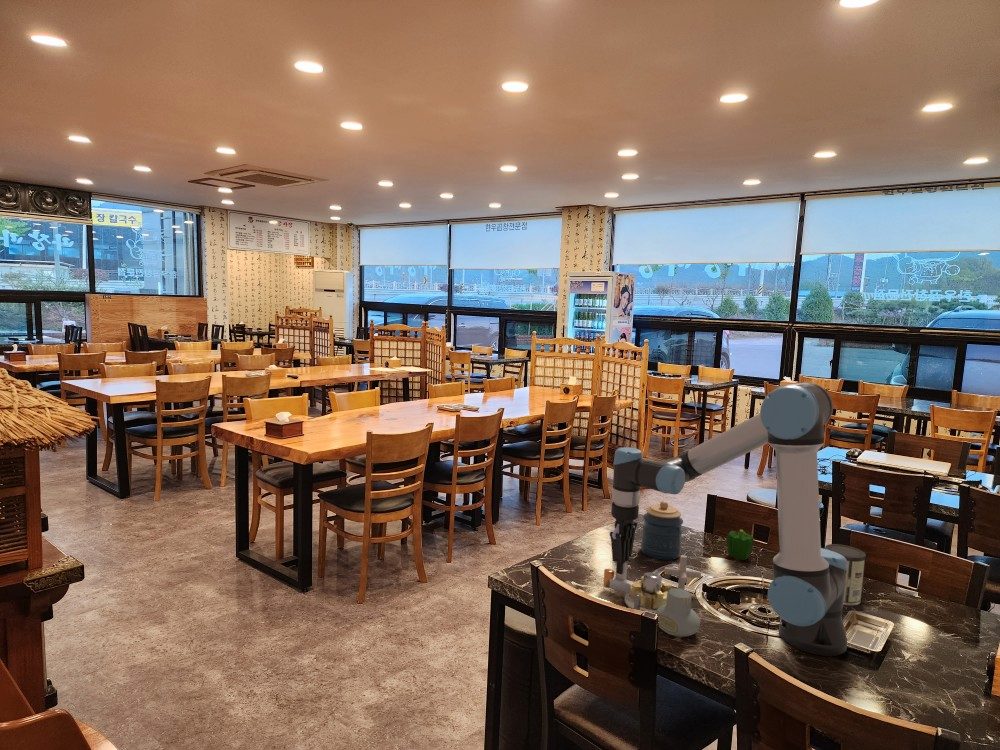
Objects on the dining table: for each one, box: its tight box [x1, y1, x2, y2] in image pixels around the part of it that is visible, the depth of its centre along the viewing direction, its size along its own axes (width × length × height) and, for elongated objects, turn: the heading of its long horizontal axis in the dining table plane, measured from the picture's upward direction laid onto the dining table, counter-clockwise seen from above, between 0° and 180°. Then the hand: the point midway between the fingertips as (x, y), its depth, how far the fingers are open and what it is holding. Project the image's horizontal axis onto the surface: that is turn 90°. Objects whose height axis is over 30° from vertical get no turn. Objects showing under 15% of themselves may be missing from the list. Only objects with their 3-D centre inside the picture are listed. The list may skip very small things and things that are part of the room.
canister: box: [640, 500, 684, 561], centre depth 204 cm, size 13×13×18 cm
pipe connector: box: [663, 554, 702, 590], centre depth 177 cm, size 10×10×10 cm
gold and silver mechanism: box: [624, 571, 663, 613], centre depth 165 cm, size 14×21×8 cm, turn 124°
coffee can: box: [824, 543, 867, 606], centre depth 177 cm, size 10×10×14 cm
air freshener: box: [655, 587, 701, 638], centre depth 154 cm, size 11×8×10 cm
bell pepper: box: [726, 529, 754, 561], centre depth 204 cm, size 8×8×10 cm
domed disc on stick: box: [603, 568, 672, 609], centre depth 170 cm, size 20×11×4 cm, turn 56°
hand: (620, 583), depth 174 cm, fingers closed
